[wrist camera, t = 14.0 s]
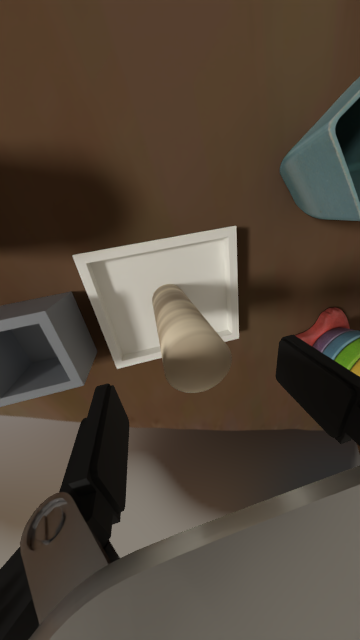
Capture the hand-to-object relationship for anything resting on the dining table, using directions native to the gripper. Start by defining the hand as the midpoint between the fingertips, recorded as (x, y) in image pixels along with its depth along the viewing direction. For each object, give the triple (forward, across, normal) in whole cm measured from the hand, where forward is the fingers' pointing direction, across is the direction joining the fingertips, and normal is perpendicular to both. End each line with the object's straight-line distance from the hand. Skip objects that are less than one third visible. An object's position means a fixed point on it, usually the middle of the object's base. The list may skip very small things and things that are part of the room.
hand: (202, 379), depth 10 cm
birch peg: (+16, 0, +1) cm, 16 cm away
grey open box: (+17, +16, +2) cm, 23 cm away
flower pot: (+17, -19, -11) cm, 28 cm away
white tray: (+16, 0, +1) cm, 17 cm away
